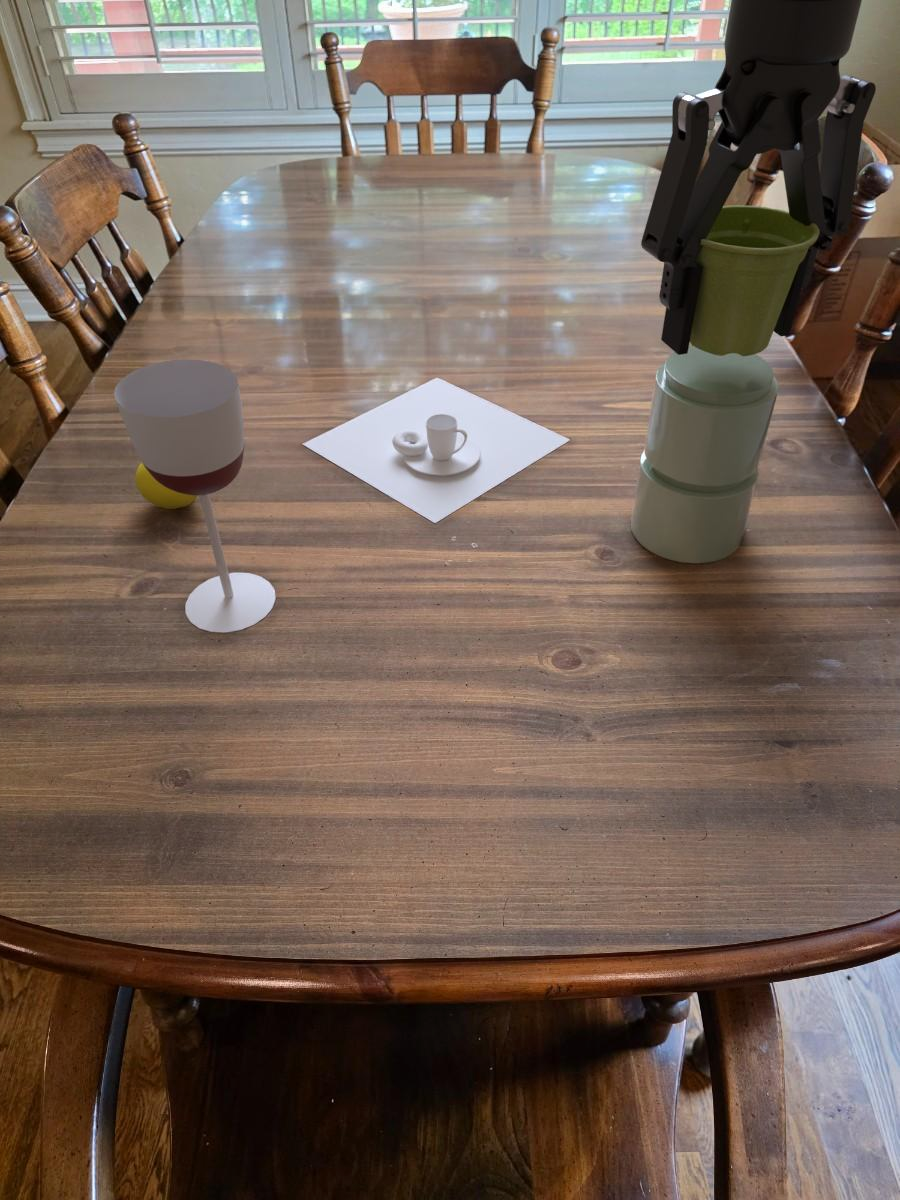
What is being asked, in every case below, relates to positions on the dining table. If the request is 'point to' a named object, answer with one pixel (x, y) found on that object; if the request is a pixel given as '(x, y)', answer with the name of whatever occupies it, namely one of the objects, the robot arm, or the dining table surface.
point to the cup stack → (702, 454)
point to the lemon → (160, 491)
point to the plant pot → (746, 277)
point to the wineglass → (196, 467)
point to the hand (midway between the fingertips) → (725, 337)
